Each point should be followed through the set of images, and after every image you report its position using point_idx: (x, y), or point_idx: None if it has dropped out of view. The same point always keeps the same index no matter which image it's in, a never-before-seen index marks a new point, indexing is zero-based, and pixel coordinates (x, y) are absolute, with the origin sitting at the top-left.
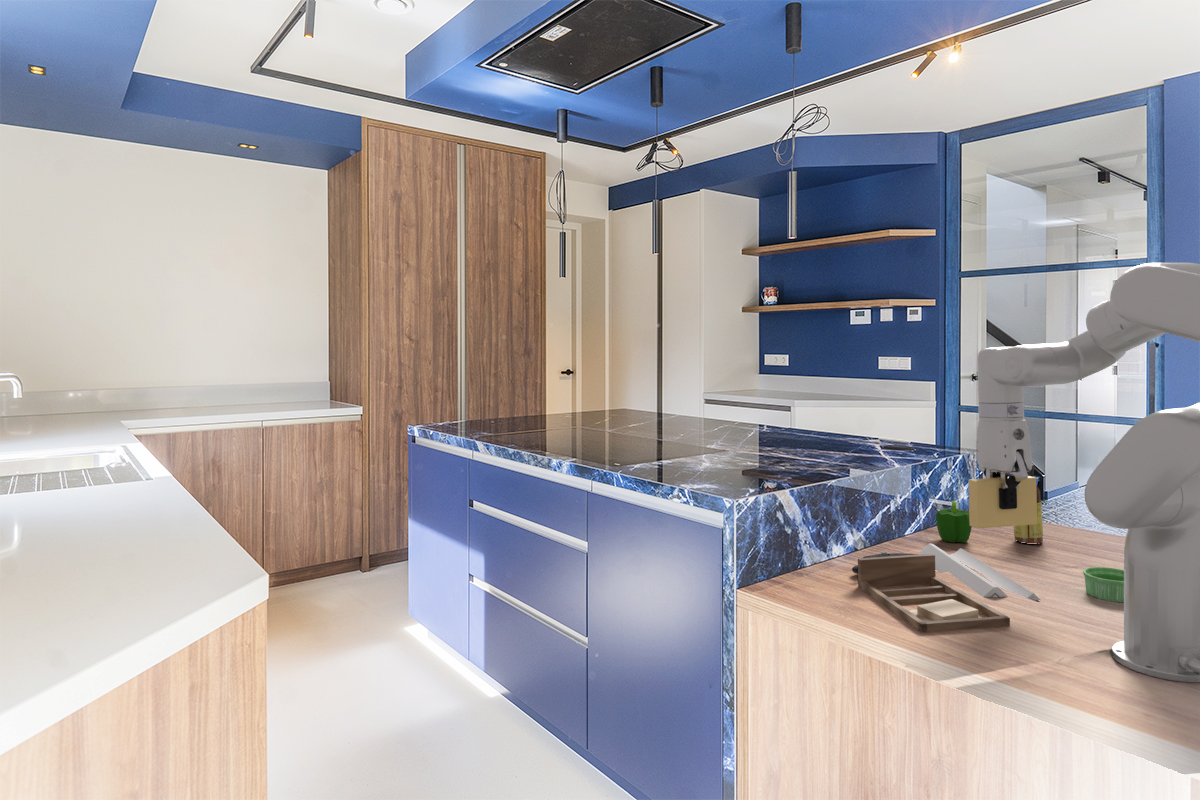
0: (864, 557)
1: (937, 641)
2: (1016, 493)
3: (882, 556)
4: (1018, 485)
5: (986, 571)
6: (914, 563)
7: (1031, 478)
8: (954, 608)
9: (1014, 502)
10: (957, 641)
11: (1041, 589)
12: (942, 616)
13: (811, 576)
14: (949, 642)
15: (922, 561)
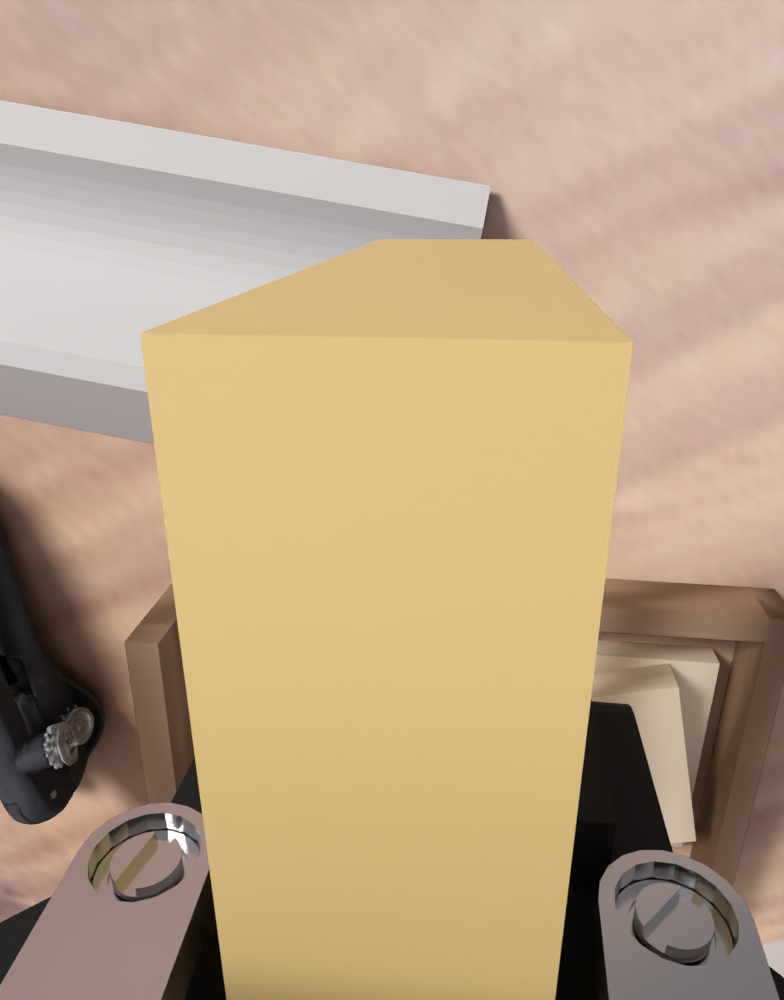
0: (26, 822)
1: (746, 851)
2: (599, 744)
3: (2, 741)
4: (752, 930)
5: (27, 180)
6: (185, 722)
7: (609, 522)
8: None
9: (632, 726)
10: (772, 800)
11: (310, 23)
12: (691, 839)
13: (36, 888)
14: (769, 825)
15: (177, 689)
